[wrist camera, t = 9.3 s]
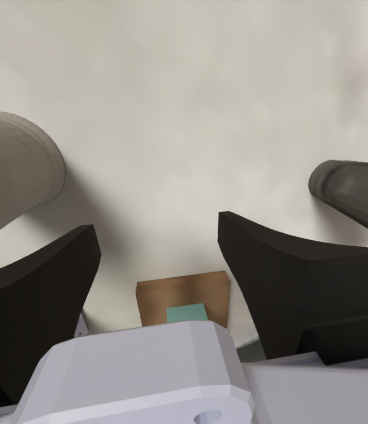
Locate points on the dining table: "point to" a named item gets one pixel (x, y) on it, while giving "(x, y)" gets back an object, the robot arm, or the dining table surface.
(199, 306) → the teal block
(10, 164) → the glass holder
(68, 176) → the dining table surface
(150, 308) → the walnut base
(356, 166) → the beverage cup
